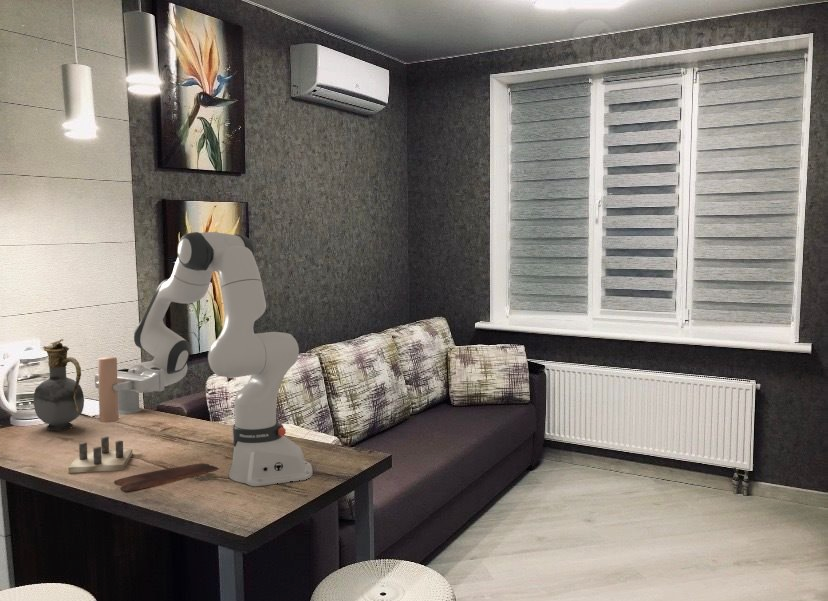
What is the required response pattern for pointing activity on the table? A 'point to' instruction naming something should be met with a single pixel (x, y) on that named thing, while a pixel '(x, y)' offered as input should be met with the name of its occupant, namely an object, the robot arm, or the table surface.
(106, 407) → the post
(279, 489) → the table surface
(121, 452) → the peg stand
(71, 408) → the pitcher
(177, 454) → the table surface
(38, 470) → the table surface
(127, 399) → the glass holder
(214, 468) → the wooden tablet
